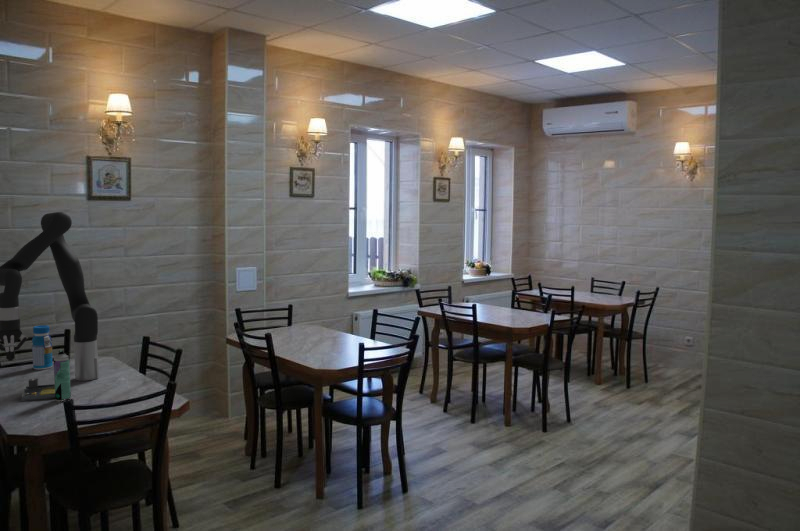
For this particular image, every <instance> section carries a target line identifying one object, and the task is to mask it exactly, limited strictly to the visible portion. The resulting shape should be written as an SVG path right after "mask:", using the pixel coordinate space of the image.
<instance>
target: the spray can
mask: <svg viewBox="0 0 800 531" xmlns="http://www.w3.org/2000/svg"><path fill="white" fill-rule="evenodd" d="M70 365H71V364H70V356H69V354H68V355H67V354H66V353H65V351H64V350H63V349H59V350H58V352H57V354H56V355H55V356H54V357H53V376H54V379H53V380H54V384H55V398H54V399H55V402H57V403H63V402H62V400H63V401H64V399H70V400H72V399H71V398H72V394H71V392H72V391H71V373H70V372H71V371H70V370H71V369H70ZM60 401H61V402H60ZM64 402H65V401H64Z"/></svg>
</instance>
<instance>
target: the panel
mask: <svg viewBox="0 0 800 531" xmlns="http://www.w3.org/2000/svg"><path fill="white" fill-rule="evenodd" d="M23 390H24V391H23V393H22V395H21V402H28V401H36V400H37V401H38V400H39V401H40V400H48V399H51V400H52V399H55V383H54V384H52V383H51V384H42V385H41V384H40V385H39V384H38V388H31V389H29V385H28V386H25V388H24V389H23Z"/></svg>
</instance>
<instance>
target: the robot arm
mask: <svg viewBox="0 0 800 531" xmlns="http://www.w3.org/2000/svg"><path fill="white" fill-rule="evenodd" d="M40 226H41V229H42V231H41V233H39V234H38V235H37V236H36V237H34V238H33V239H31V240H30V241H28V242H27V243H26V244H24V245H23V246H22V247H21V248H20V249H19V250H18V251H17V252H16V254H15V255H14V256H12V258H10V259H8V260H7V261H6V262H4V263H3V264H2V265H1V266H0V286H1V287H2V286H4V290H3V291H2V292H0V341H1V342H2V343H1V342H0V351H1V352H2V351H4V352H5V358H6V360H7V361H8V362H13V361H14V360H15V359H16V351H17V350H19V349H21V347H22V346H23V345H24V343H25V342H26V341H27V340H28V339H29V337H28V336H27V335H24V334H23V332H22V331H21V330H22V329H21V312H20V305H19V303H20V302H19V296H20V291H21V288H22V284H23V276H22V273H21V272H22V271H26V270H28V269H29V268H31V266H32V265H33V264H34V263H35V262H36V261H37V259H38V258H39V257H40V256H41V255H42V254H43V252H45V251H46V250H47V249H48V248H50V251H51V254H52V257H53V260H54V263H55V266H56V270H57V273H58V277H59V279H60V282H61V284H62V286H63V289H64V291H65V293H66V296H67V299H68V304H69V308H70V314H71V318H72V320H73V321H74V335H73V351H74V352H73V353H74V377H75V378H74V379H75V380H76V381H84V382H86V381H92V380H97V379H98V378H99V375H100V373H99V355H98V332H99V319H98V318H99V317H98V313H97V310H96V309H95V308H94V307H93V306H92V305H91V303H90V301H89V299H88V297H87V294H86V288H85V278H84V272H83V269H82V265H81V263H80V260H79V258H78V257H77V255H76V254H75V253H74V251H73V250H72V249H71V248H70V246H69V245H68V244H67V242H66V239H65V236H64V234H66V233H67V232H68V231H69V230H70V229H71V228H72V218H71V216H70V215H69V214H68V213H67V212H63V211H57V212H56V211H55V212H49V213H45V214H44V215H42V217H41V218H40ZM18 340H20V342H19V343H18V344H16V343H17V342H18ZM3 344H4V345H3Z"/></svg>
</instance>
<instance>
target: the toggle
mask: <svg viewBox="0 0 800 531" xmlns="http://www.w3.org/2000/svg"><path fill="white" fill-rule="evenodd" d="M28 386H29V389H31V388H38V386H39V379H38V378H30V379H29V380H28Z"/></svg>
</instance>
